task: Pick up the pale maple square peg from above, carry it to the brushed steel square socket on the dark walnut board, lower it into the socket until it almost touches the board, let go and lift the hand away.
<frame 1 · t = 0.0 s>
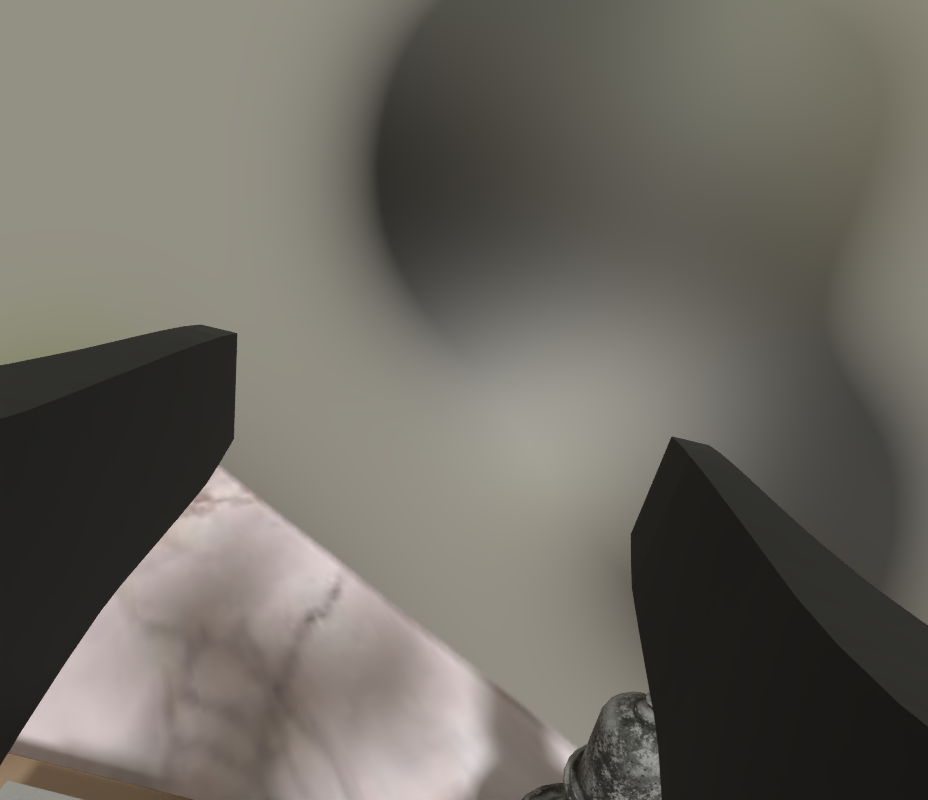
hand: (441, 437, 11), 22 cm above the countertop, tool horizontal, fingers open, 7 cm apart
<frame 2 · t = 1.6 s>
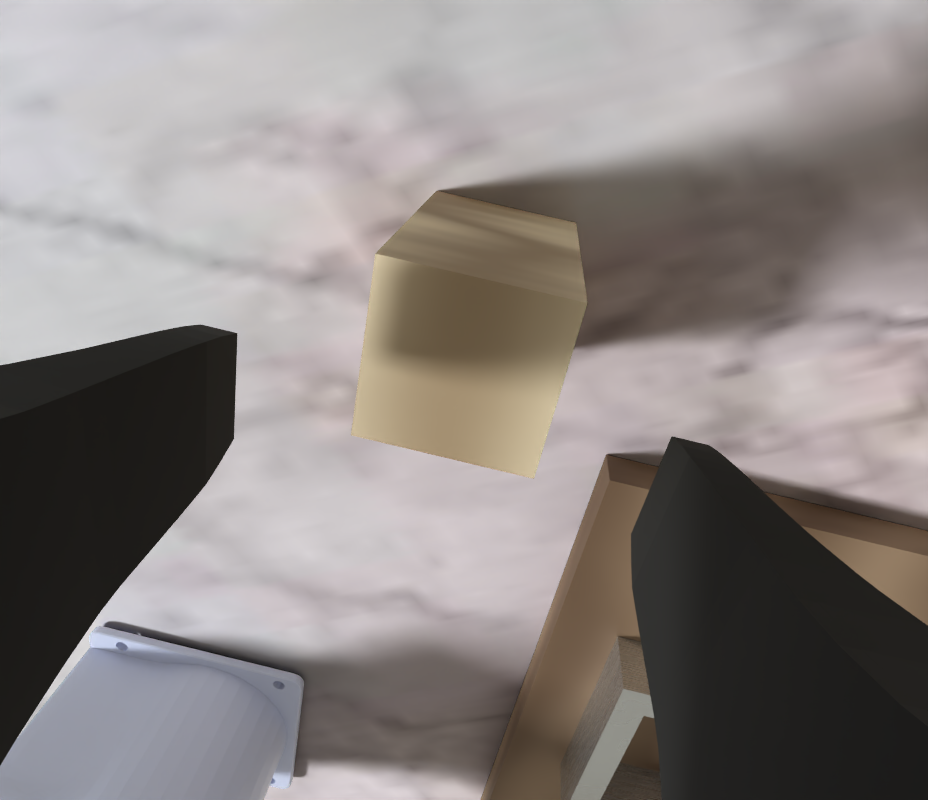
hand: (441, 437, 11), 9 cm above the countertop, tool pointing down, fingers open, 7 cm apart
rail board: (678, 694, 26), on the countertop
maple peg: (490, 274, 19), on the countertop
square socket: (684, 728, 24), resting on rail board
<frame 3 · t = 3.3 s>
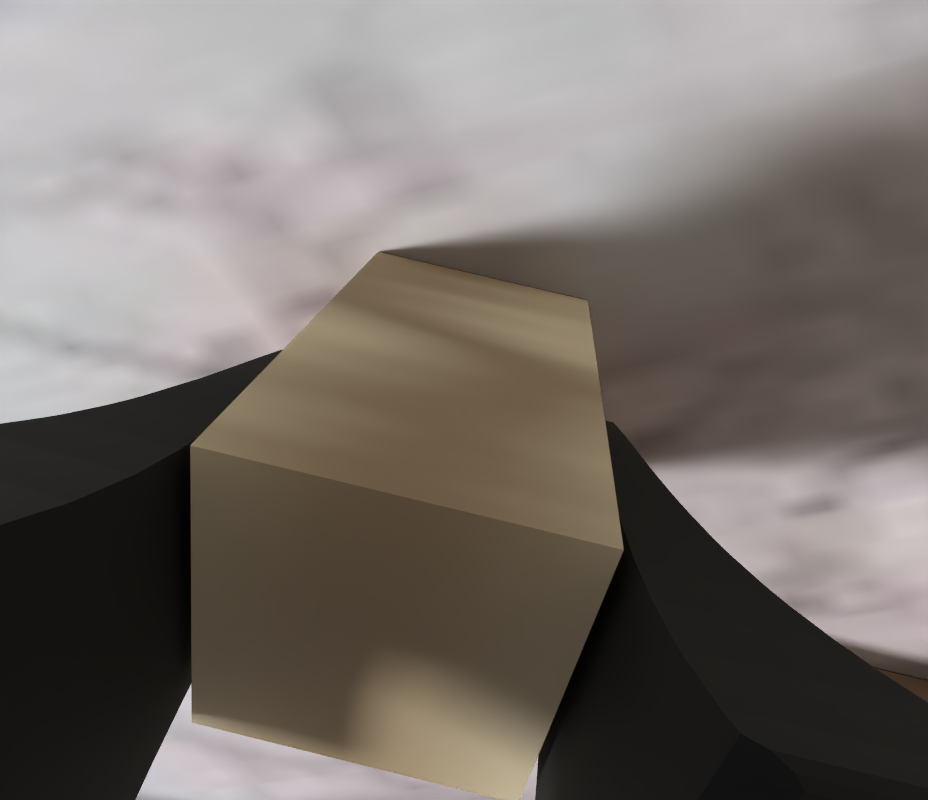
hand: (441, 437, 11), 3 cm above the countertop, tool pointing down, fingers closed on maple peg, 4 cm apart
maple peg: (461, 371, 13), on the countertop, touching gripper
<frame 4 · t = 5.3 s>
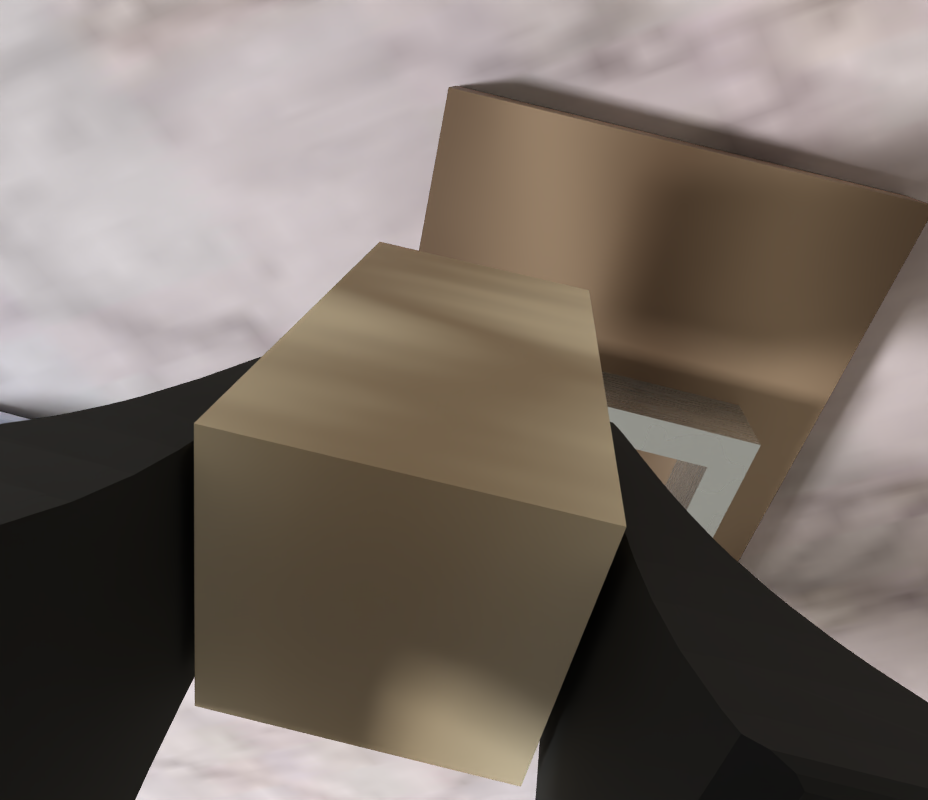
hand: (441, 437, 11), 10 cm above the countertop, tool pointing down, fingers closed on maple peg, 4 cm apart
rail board: (570, 453, 21), on the countertop
maple peg: (463, 361, 13), point 7 cm above the countertop, touching gripper
square socket: (571, 479, 20), resting on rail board
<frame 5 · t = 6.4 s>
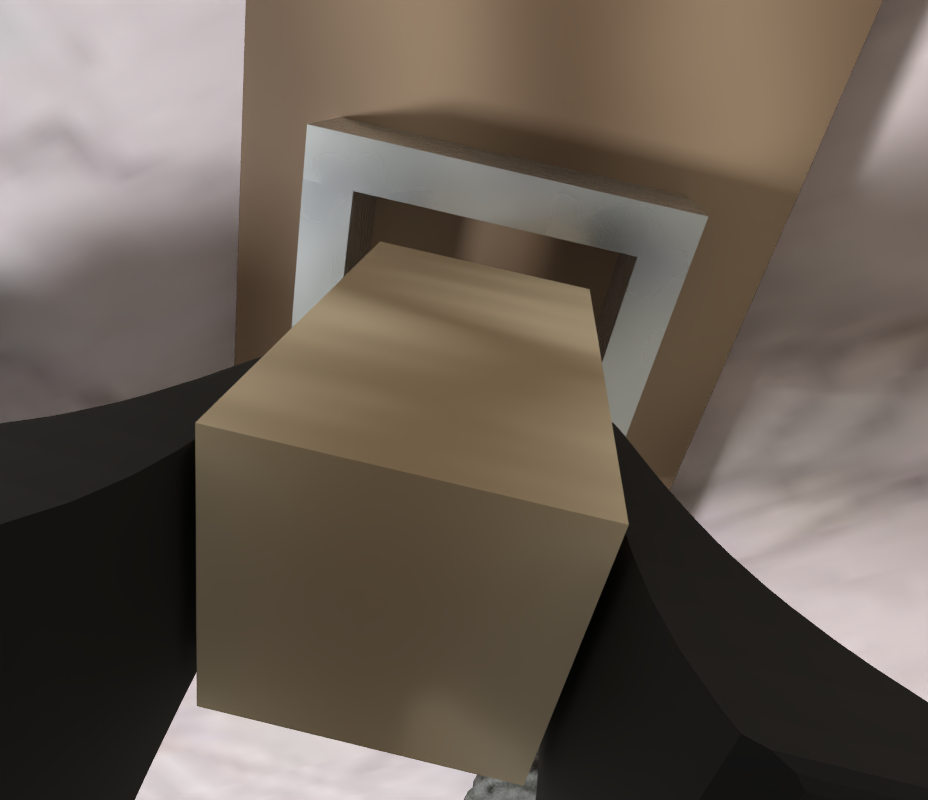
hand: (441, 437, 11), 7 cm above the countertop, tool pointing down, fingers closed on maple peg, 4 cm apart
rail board: (482, 299, 17), on the countertop
maple peg: (463, 361, 13), point 4 cm above the countertop, touching gripper
salt shaker: (548, 725, 24), on the countertop
square socket: (476, 318, 16), resting on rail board
when the fingers open (5 cm above the countertop, at t = 7.4 s): maple peg stays where it is, resting on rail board.
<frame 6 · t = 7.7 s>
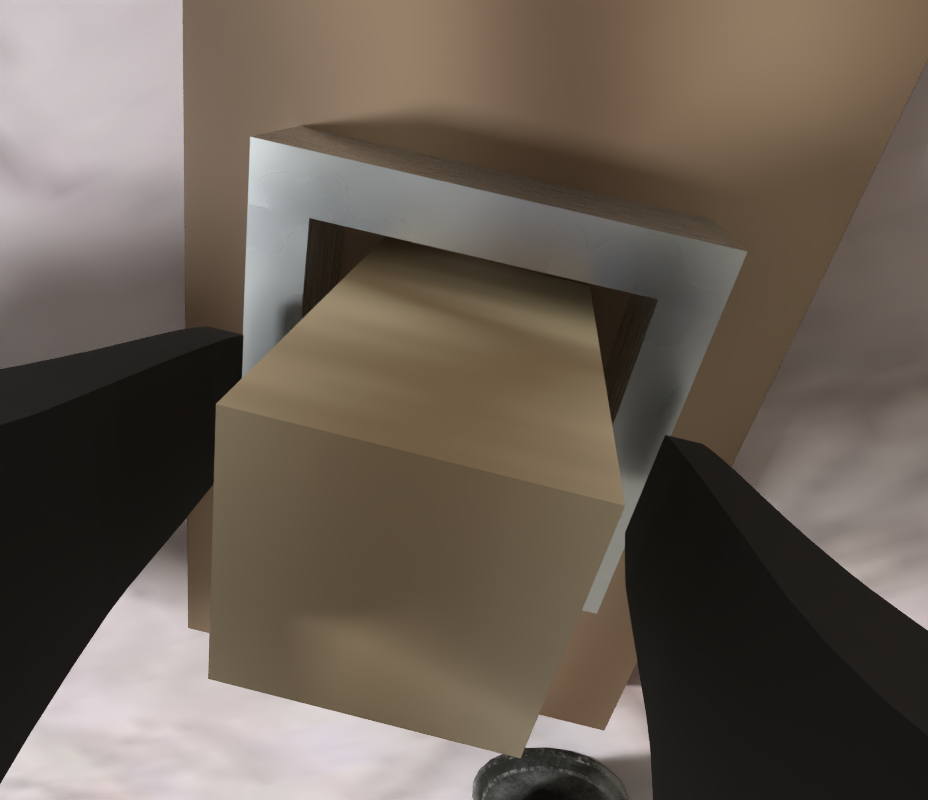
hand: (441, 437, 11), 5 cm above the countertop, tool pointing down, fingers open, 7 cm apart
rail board: (473, 335, 15), on the countertop
maple peg: (466, 354, 13), point 1 cm above the countertop, touching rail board
salt shaker: (549, 792, 22), on the countertop
square socket: (465, 361, 13), resting on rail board
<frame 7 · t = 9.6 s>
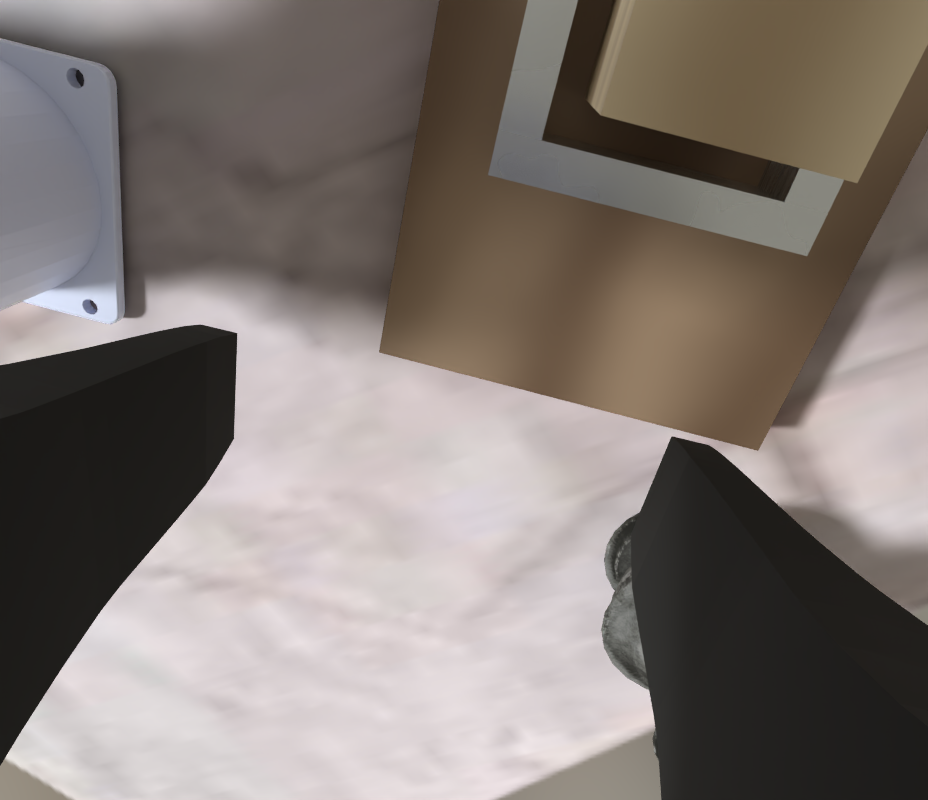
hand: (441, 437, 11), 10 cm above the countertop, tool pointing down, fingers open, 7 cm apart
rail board: (681, 38, 16), on the countertop
maple peg: (694, 27, 15), point 1 cm above the countertop, touching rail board
salt shaker: (676, 557, 24), on the countertop
square socket: (692, 35, 15), resting on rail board
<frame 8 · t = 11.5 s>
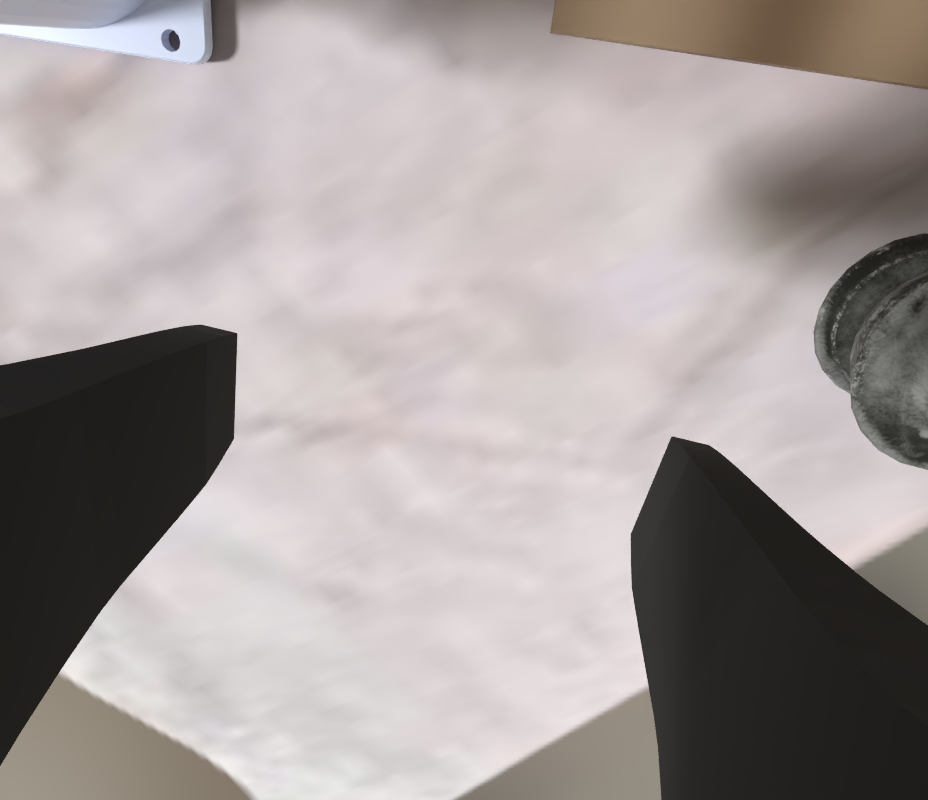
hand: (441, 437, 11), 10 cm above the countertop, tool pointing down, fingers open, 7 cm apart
salt shaker: (905, 319, 19), on the countertop
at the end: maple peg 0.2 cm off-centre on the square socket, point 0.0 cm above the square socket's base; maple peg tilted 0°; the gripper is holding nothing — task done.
